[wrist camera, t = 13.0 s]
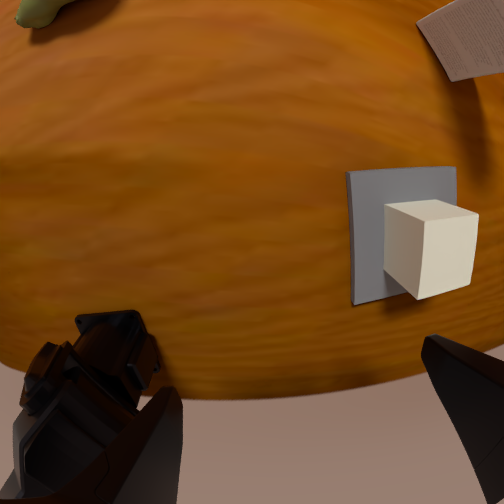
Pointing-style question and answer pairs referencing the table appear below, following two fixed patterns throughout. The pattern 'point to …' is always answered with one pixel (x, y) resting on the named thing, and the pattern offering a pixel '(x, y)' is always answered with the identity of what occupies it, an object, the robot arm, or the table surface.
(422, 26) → the skincare box
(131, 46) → the table surface
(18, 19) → the pear
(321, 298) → the table surface
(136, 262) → the table surface
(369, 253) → the mat
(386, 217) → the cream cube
